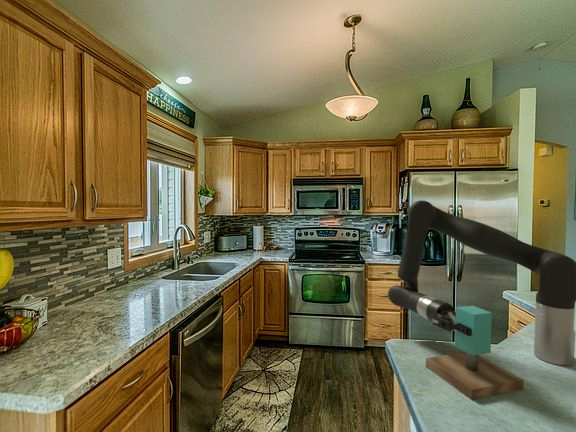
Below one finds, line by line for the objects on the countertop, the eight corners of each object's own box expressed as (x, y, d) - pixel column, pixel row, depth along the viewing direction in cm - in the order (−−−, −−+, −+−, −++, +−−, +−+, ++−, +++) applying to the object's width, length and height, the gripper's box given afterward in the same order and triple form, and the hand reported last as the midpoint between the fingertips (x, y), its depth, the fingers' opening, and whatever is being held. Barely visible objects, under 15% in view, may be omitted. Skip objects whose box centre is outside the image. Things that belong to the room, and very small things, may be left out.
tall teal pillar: (471, 343, 89) (472, 305, 88) (490, 352, 83) (491, 312, 83) (454, 345, 87) (455, 307, 87) (472, 355, 81) (473, 314, 81)
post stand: (471, 359, 95) (472, 321, 95) (523, 388, 80) (525, 343, 80) (425, 366, 91) (426, 326, 90) (471, 399, 75) (472, 351, 75)
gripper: (416, 300, 97) (459, 320, 80) (453, 297, 100) (501, 315, 84) (415, 324, 97) (458, 348, 81) (453, 319, 101) (501, 342, 85)
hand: (480, 331), depth 83 cm, fingers closed on tall teal pillar, 6 cm apart
